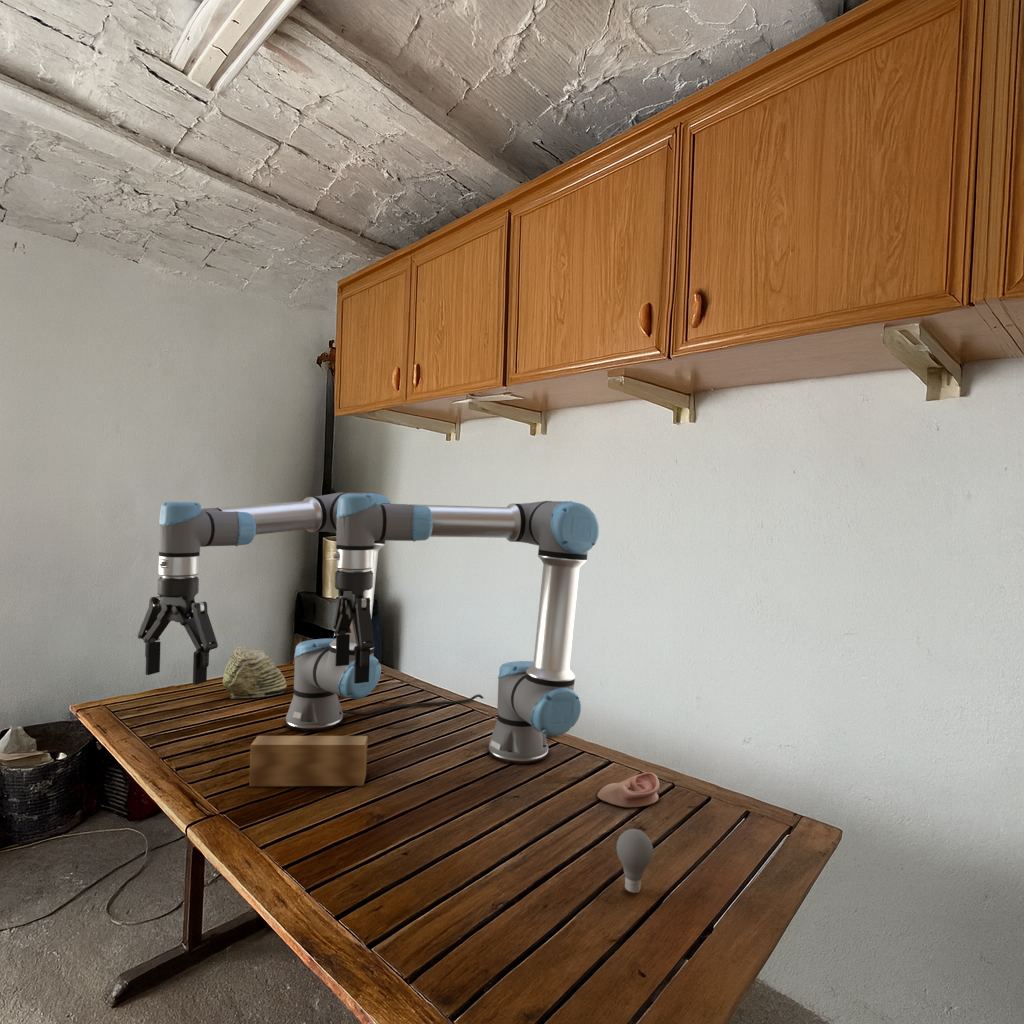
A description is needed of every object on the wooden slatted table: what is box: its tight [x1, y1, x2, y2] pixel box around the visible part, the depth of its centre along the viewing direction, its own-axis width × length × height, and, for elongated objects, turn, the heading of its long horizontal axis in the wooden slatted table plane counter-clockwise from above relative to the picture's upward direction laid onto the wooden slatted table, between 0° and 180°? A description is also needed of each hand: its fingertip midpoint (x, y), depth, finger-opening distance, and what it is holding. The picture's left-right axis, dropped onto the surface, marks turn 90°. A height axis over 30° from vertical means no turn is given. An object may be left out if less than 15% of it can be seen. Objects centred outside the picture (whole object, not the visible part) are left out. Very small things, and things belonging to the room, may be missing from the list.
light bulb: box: [615, 828, 654, 894], centre depth 106 cm, size 6×6×10 cm
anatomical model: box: [596, 771, 660, 808], centre depth 140 cm, size 13×4×12 cm
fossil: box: [222, 646, 288, 699], centre depth 198 cm, size 9×18×15 cm, turn 132°
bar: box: [248, 735, 369, 788], centre depth 141 cm, size 24×5×9 cm, turn 96°
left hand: (175, 678), depth 131 cm, fingers open, 13 cm apart
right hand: (351, 673), depth 129 cm, fingers open, 13 cm apart
